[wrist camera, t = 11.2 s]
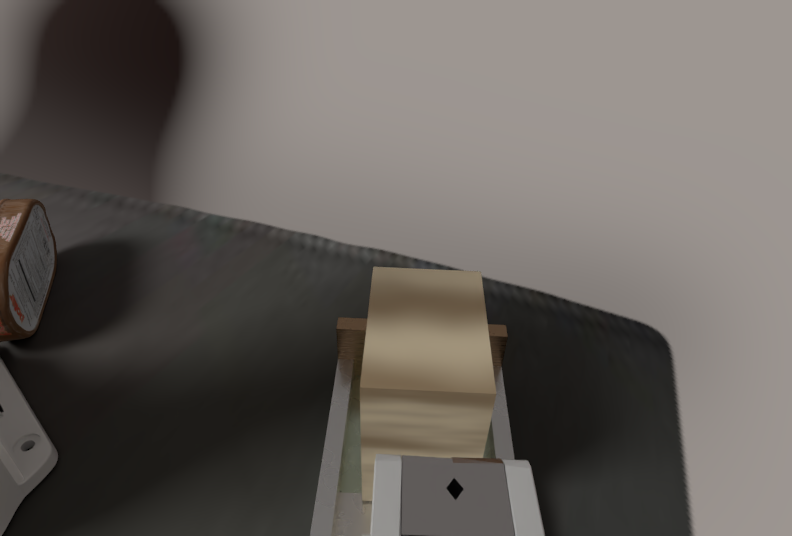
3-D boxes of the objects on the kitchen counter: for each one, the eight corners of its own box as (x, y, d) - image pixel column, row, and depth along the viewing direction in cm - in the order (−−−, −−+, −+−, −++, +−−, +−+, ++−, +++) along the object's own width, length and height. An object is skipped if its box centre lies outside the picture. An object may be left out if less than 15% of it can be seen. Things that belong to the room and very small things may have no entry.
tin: (35, 255, 57) (1, 181, 51) (69, 251, 57) (39, 177, 52) (-6, 366, 45) (-55, 285, 40) (37, 359, 46) (-6, 279, 41)
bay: (552, 831, 25) (583, 804, 21) (274, 814, 25) (257, 785, 22) (494, 378, 46) (505, 325, 42) (341, 371, 46) (338, 317, 42)
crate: (472, 506, 36) (496, 393, 29) (362, 500, 36) (359, 387, 29) (463, 376, 44) (480, 265, 37) (373, 372, 44) (374, 261, 37)
